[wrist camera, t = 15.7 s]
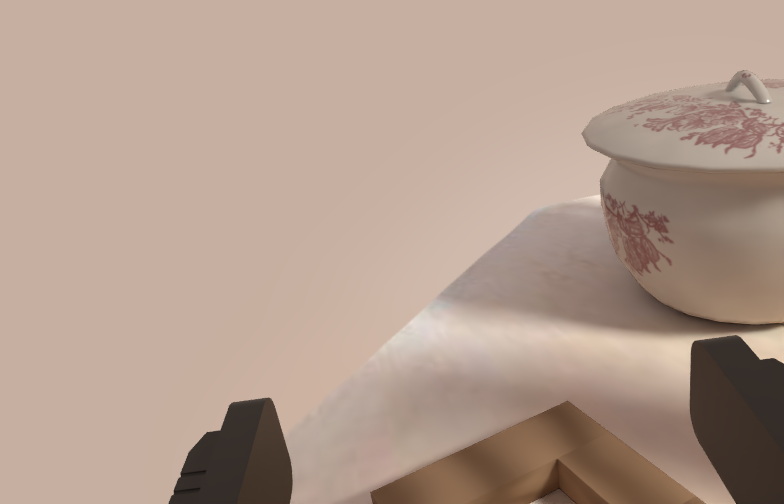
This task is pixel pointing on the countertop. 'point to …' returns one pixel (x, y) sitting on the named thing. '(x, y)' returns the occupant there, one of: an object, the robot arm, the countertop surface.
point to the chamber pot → (700, 196)
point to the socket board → (541, 468)
